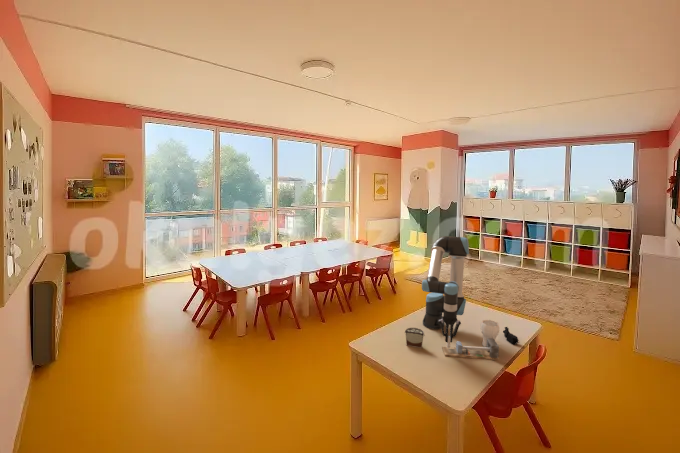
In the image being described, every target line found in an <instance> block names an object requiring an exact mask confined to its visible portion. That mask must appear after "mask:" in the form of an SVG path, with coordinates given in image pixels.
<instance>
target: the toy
mask: <svg viewBox="0 0 680 453" xmlns="http://www.w3.org/2000/svg"><path fill="white" fill-rule="evenodd" d="M502 333H503V335H504V337H505V338H506V341H507V342H508V343H509V344H511V345H514V346H515V345H517V344H518V343H519V338H518V336H517V335H515V334H513V333H511V332H510V329H509V327H508V326H505V327H504V329H503V331H502Z"/></svg>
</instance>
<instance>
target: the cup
mask: <svg viewBox="0 0 680 453" xmlns="http://www.w3.org/2000/svg"><path fill="white" fill-rule="evenodd" d="M480 331H481V334H482V337H483V338H482V339H483V340H482V342H481V345H482V347H486V343H487V339H494V340H495V341H496V339H497V337H498V336H499V333H500V324H499V323H498V322H497V321H495V320H491V319H484V320H482V321H481V324H480Z"/></svg>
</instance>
